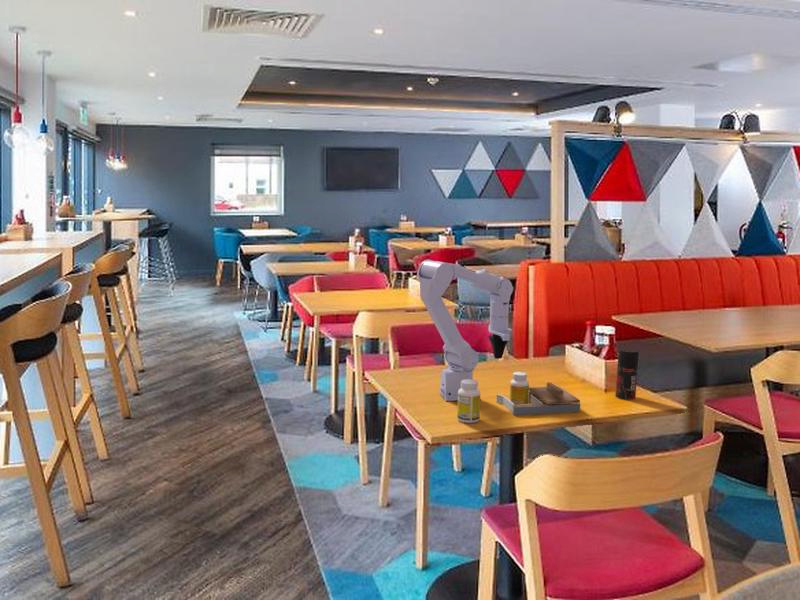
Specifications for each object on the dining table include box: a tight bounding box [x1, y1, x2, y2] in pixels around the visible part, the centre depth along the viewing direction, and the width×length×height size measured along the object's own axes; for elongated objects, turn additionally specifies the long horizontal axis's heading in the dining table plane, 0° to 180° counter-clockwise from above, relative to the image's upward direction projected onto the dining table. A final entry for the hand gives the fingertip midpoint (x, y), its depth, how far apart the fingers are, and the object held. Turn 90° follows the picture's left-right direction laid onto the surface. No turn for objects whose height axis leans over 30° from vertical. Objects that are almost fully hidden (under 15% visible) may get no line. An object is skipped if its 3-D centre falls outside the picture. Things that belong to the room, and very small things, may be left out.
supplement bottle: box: [509, 371, 530, 405], centre depth 212 cm, size 5×5×10 cm
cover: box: [529, 382, 581, 405], centre depth 212 cm, size 10×14×3 cm
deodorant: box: [614, 347, 640, 401], centre depth 222 cm, size 6×6×15 cm
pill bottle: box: [457, 379, 481, 424], centre depth 198 cm, size 6×6×11 cm
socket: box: [496, 391, 581, 417], centre depth 212 cm, size 21×14×2 cm
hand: (498, 358), depth 226 cm, fingers closed
